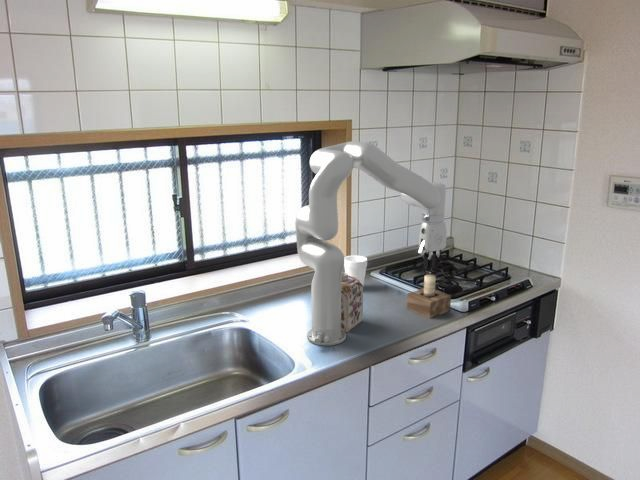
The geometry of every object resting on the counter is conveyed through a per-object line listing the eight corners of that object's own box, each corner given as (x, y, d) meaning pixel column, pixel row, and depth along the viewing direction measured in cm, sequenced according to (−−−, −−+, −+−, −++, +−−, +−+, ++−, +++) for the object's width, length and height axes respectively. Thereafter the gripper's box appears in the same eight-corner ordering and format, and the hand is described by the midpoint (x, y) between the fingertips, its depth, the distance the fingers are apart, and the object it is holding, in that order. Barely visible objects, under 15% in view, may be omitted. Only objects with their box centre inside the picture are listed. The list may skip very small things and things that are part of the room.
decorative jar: (347, 333, 172) (347, 282, 167) (317, 325, 177) (317, 276, 173) (363, 320, 181) (364, 271, 177) (334, 313, 187) (334, 266, 183)
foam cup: (366, 285, 216) (367, 255, 212) (366, 293, 207) (367, 262, 203) (344, 285, 216) (344, 255, 213) (342, 293, 208) (343, 262, 204)
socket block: (429, 318, 183) (430, 302, 181) (406, 308, 191) (407, 293, 190) (450, 310, 189) (451, 295, 188) (427, 301, 198) (428, 287, 196)
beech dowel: (434, 309, 188) (436, 278, 185) (422, 309, 188) (424, 277, 185) (434, 305, 192) (435, 274, 189) (422, 304, 192) (424, 274, 189)
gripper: (425, 223, 174) (423, 275, 179) (456, 216, 183) (453, 266, 188) (409, 219, 180) (407, 270, 184) (439, 213, 189) (437, 261, 194)
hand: (430, 267), depth 186 cm, fingers open, 2 cm apart
